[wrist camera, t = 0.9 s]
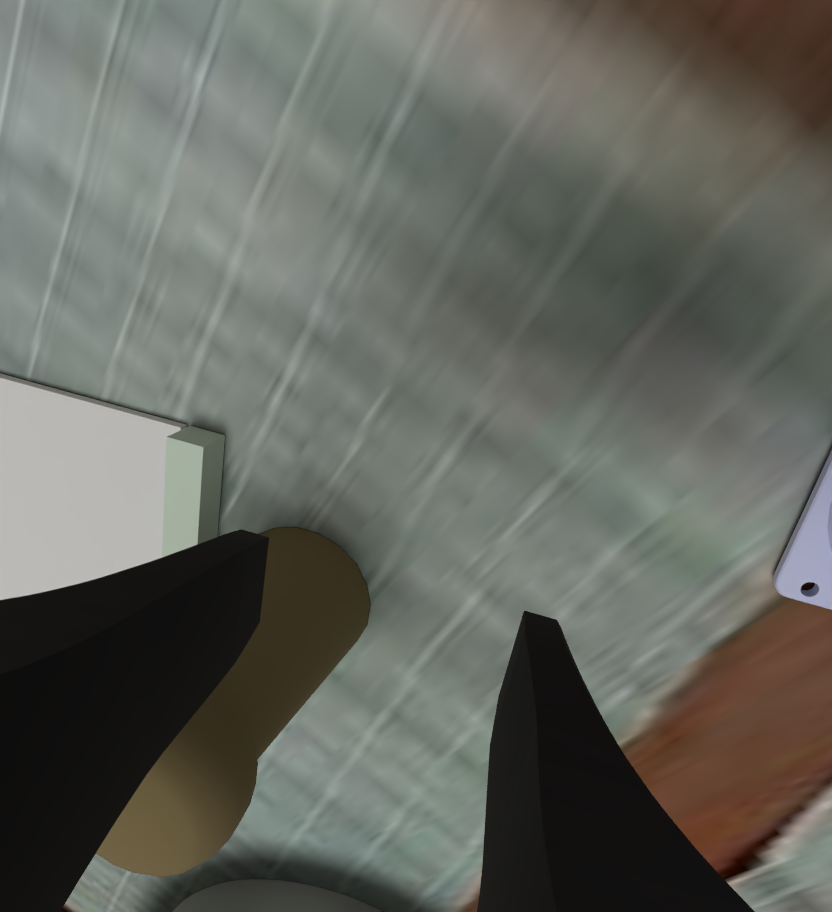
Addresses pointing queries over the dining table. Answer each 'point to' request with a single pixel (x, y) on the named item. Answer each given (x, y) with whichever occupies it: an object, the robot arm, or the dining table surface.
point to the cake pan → (269, 898)
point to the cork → (244, 709)
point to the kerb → (192, 488)
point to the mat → (76, 487)
